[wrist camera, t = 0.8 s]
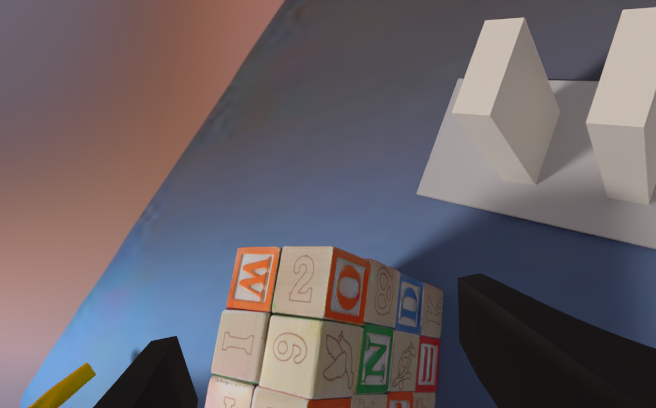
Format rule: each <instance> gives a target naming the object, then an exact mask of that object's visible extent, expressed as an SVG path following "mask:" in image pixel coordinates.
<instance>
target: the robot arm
mask: <svg viewBox="0 0 656 408" xmlns="http://www.w3.org/2000/svg"><path fill="white" fill-rule="evenodd" d="M458 303H459V337H460V344H461V346H462V348H463V350H464V352H465V354H466V356H467V358H468V360H469V362H470V364H471V365H472V367H473V369H474V371H475V373H476V375H477V377H478V378H479V380H480V381H481V383H482V384H483V386H484V387H485V389H486V390H487V392H488V393H489V395H490V396H491V398H492V399H493V401H494V402H495V404H496V405H497V407H498V408H656V349H655V348H652V347H649V346H646V345H643V344H640V343H637V342H635V341H632V340H629V339H626V338H623V337H621V336H618V335H615V334H613V333H610V332H607V331H605V330H602V329H600V328H598V327H595V326H593V325H591V324H588V323H586V322H583V321H581V320H579V319H576V318H574V317H572V316H569V315H567V314H565V313H563V312H560V311H558V310H556V309H554V308H552V307H550V306H548V305H545V304H543V303H541V302H539V301H537V300H535V299H533V298H531V297H529V296H527V295H525V294H523V293H521V292H519V291H517V290H515V289H512V288H510V287H508V286H506V285H504V284H502V283H500V282H498V281H496V280H494V279H492V278H490V277H487V276H485V275H483V274H475V275H471V276H466V277H461V278H458ZM197 404H198V398H197V395H196V392H195V389H194V386H193V383H192V380H191V377H190V374H189V371H188V368H187V365H186V362H185V359H184V356H183V353H182V350H181V347H180V344H179V341H178V338H177V336H174V337H169V338H164V339H159V340H154V341H151V342H150V343H149V344H148V345H147V346H146V347H145V349H144V350H143V351H142V352H141V353H140V354H139V355H138V356H137V358H136V359H135V360H134V361H133V362H132V363H131V365H130V366H129V367H128V368H127V369H126V370H125V372H124V373H123V374H122V375H121V376H120V377H119V379H118V380H117V381H116V382H115V383H114V384H113V385H112V387H111V388H110V389H109V390H108V391H107V392H106V393H105V395H104V396H103V397H102V398H101V399H100V400H99V401H98V402H97V404H96V405H95V406H94V407H93V408H197Z"/></svg>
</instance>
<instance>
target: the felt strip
mask: <svg viewBox="0 0 656 408" xmlns="http://www.w3.org/2000/svg"><path fill="white" fill-rule="evenodd" d="M463 80H464V79H458V81H457V84H456V87H455V90H454V92H453V95H452V98H451V100H450V103H449V106H448V109H447V111H446V114H445V117H444V120H443V122H442V125H441V128H440V131H439V133H438V136H437V139H436V142H435V144H434V147H433V150H432V152H431V155H430V158H429V161H428V163H427V166H426V169H425V172H424V174H423V177H422V180H421V183H420V185H419V188H418V191H417V193H416V194H418V195H420V196H425V197H429V198H433V199H438V200H442V201H446V202H451V203H455V204H460V205H464V206H468V207H473V208H477V209H481V210H486V211H490V212H494V213H499V214H503V215H507V216H512V217H516V218H521V219H525V220H529V221H534V222H538V223H542V224H547V225H551V226H555V227H560V228H564V229H568V230H573V231H577V232H581V233H586V234H590V235H595V236H599V237H603V238H608V239H612V240H616V241H621V242H625V243H629V244H634V245H638V246H642V247H647V248H651V249H656V184H655V187H654V191H653V194H652V197H651V200H650V204H649V205H645V204H639V203H634V202H628V201H622V200H616V199H611V198H608V197H607V193H606V190H605V187H604V183H603V180H602V177H601V173H600V170H599V166H598V163H597V160H596V156H595V153H594V150H593V146H592V143H591V139H590V136H589V133H588V129H587V126H586V120H587V117H588V114H589V111H590V108H591V105H592V102H593V99H594V96H595V93H596V90H597V87H598V84H599V81H558V80H548V81H549V83H550V86H551V89H552V91H553V94H554V97H555V99H556V102H557V105H558V107H559V110H560V115H559V118H558V120H557V123H556V126H555V129H554V132H553V135H552V138H551V141H550V144H549V147H548V150H547V153H546V156H545V159H544V162H543V165H542V168H541V171H540V174H539V177H538V180H537V183H536V185H531V184H525V183H519V182H514V181H508V180H505V179H504V178H503V177H502V175H501V174H500V173H499V172H498V170H497V169H496V168H495V167H494V165H493V164H492V163H491V161H490V160H489V159H488V158H487V156H486V155H485V154H484V153H483V151H482V150H481V149H480V148H479V146H478V145H477V144H476V143H475V141H474V140H473V139H472V138H471V136H470V135H469V134H468V133H467V131H466V130H465V129H464V128H463V126H462V125H461V124H460V123H459V121H458V120H457V119H456V118H455V116H454V115H453V114H452V110H453V108H454V105H455V102H456V99H457V97H458V94H459V91H460V88H461V86H462V83H463Z"/></svg>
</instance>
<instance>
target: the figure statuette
mask: <svg viewBox="0 0 656 408" xmlns="http://www.w3.org/2000/svg"><path fill="white" fill-rule="evenodd" d="M95 375H96V374H95V372H94V371H93V369H92V368H91V366H90V365H89V364H88V363H85V364H84V365H82V366H81V367H80V368H78V369H77V370H76V371H74V372H73V373H71V374H70V375H69V376H67V377H66V378H65V379H63V380H62V381H61V382H59V383H58V384H56V385H55V386H54V387H52V388H51V389H50V390H48V391H47V392H46V393H44V394H43V395H42V396H41V397H40V398H39V399H38V400H37V401H36V402H35V403H34V404H32V405H31V406H29V407H28V408H58V407H60V406H61V405H62V404H63V403H64V402H65V401H67V400H68V399H69V398H70V397H71V396H72V395H73V394H75V393H76V392H77V391H78V390H79V389H80V388H81V387H82V386H84V385H85V384H86V383H87V382H88V381H90V380H91V379H92V378H93V377H94V376H95Z"/></svg>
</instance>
